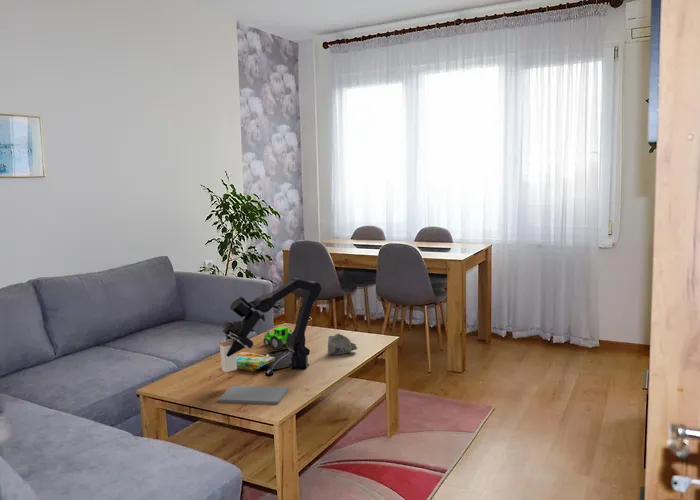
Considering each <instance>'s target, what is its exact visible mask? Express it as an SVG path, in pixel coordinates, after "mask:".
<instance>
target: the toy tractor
mask: <svg viewBox="0 0 700 500" xmlns="http://www.w3.org/2000/svg"><path fill="white" fill-rule="evenodd" d="M266 327H267V328H266V329H267V330H266V333H264V334H265V335H264V339H263V344H264V345H265V347H268V346H271V348H272V350H275V351H277V350H280V349H282V347H283V345H286V342H285V341H286V340H287V337H288V333H290V334H291V333H292V332H293V331H292V330H289V327H287V326H277V327H275V328H274V329H273V332H270V330H269V326H266Z"/></svg>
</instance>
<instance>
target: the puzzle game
mask: <svg viewBox="0 0 700 500" xmlns="http://www.w3.org/2000/svg"><path fill="white" fill-rule="evenodd" d="M275 360H276V357H275V356H269V355H264V354H263V355H262V354H257V353H252V352H247V351H240V352H237V353H236V361H237V369H240V370H244V371H249V372H254V371H257V370H259V369H261V368H263V367H265V366H267V365H268V364H270V363H272V362H274V361H275ZM266 364H267V365H266ZM264 365H265V366H264ZM262 366H263V367H262ZM260 367H261V368H260Z"/></svg>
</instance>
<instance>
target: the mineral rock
mask: <svg viewBox="0 0 700 500" xmlns="http://www.w3.org/2000/svg"><path fill="white" fill-rule="evenodd" d="M356 350H358V346H357V344H356V343H354V342H351V340H350V338H348V337H347V336H345V335H344V334H343V335H342V334H341V333H335V335H329V336H328V340H327V355H328V356H334V355H335V356H337V355H345V354H348V353H351V352H352V351H356Z"/></svg>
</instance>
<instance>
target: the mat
mask: <svg viewBox="0 0 700 500" xmlns="http://www.w3.org/2000/svg"><path fill="white" fill-rule="evenodd" d="M288 391H289V386H288V387H287V386H286V387H283V386H256V385H254V386H253V385H252V386H251V385H250V386H249V385H231V386H230V387H229V388H228V389H227V390H226V391H225V392H223V394H222V395H220V396H219V398H218V399H217V402H218V403H232V404H233V403H234V404H235V403H237V404H263V405H264V404H266V405H268V404H269V405H279V404H280V402H282V400H283V398H284V397H285V395H286V394H287V393H288Z"/></svg>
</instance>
